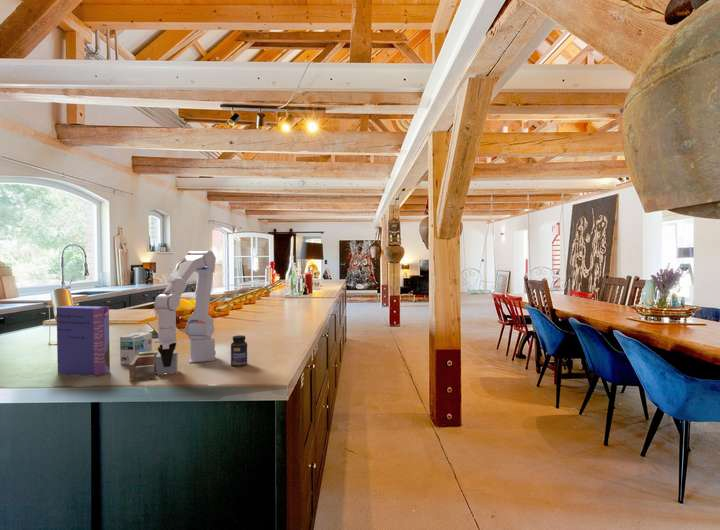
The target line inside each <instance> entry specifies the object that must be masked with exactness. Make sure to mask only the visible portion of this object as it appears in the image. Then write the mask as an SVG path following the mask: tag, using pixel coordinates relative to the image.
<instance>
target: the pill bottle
mask: <svg viewBox="0 0 720 530" xmlns="http://www.w3.org/2000/svg"><path fill="white" fill-rule="evenodd" d="M232 341H233V342H231V344H230V366H231V367H233V366H241V367H244V365H245V366H247V365H248V342H246V336H245V335H233V336H232Z"/></svg>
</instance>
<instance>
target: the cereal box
mask: <svg viewBox="0 0 720 530" xmlns="http://www.w3.org/2000/svg"><path fill="white" fill-rule="evenodd" d="M109 309H110V306H97V305H94V306H91V305H85V306H84V305H61V306H57V307H56V347H57V348H56V350H57V353H56V354H57V360H56V361H57V374H58V373H66V374H65V375H72V374H80V375H79V376H88V375H94V376H93V377H101V376H103V374H104V375H106V374H105V373H107V374H109V373H108V372H110V373H111V366H110V365H111V363H110V362H111V361H110V360H111V359H110V356H111V355H110V353H111V351H110V310H109ZM100 375H101V376H100Z"/></svg>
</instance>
